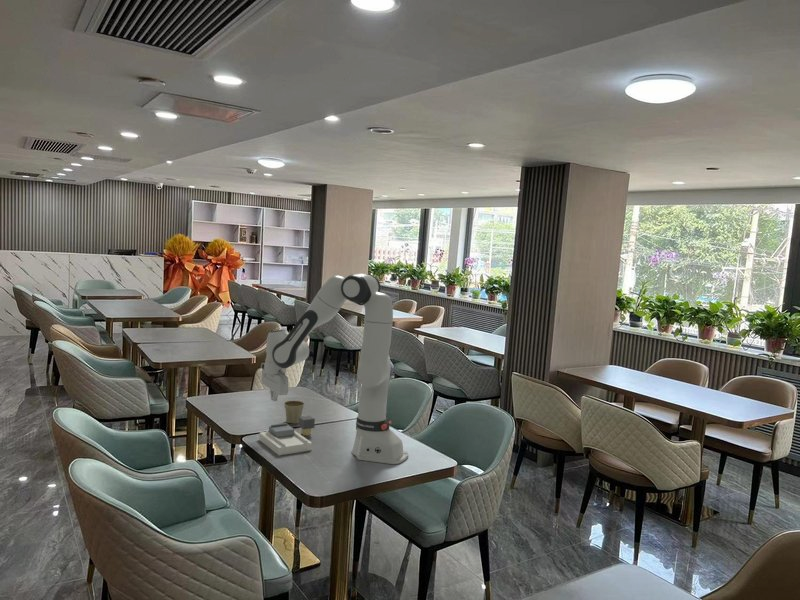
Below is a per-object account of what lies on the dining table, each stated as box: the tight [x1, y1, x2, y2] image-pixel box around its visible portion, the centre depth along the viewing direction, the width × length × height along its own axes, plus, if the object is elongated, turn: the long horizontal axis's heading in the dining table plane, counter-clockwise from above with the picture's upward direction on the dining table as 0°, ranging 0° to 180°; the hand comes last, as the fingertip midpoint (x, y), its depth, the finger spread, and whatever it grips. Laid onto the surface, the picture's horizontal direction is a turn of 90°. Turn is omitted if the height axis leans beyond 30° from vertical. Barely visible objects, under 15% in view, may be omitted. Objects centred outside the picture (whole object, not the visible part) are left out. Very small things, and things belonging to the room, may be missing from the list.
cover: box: [268, 422, 295, 438], centre depth 238 cm, size 7×8×3 cm
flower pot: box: [283, 400, 306, 424], centre depth 266 cm, size 9×9×9 cm
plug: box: [298, 415, 316, 437], centre depth 250 cm, size 5×5×7 cm
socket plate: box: [258, 430, 313, 456], centre depth 235 cm, size 20×14×4 cm
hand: (273, 400), depth 244 cm, fingers closed
